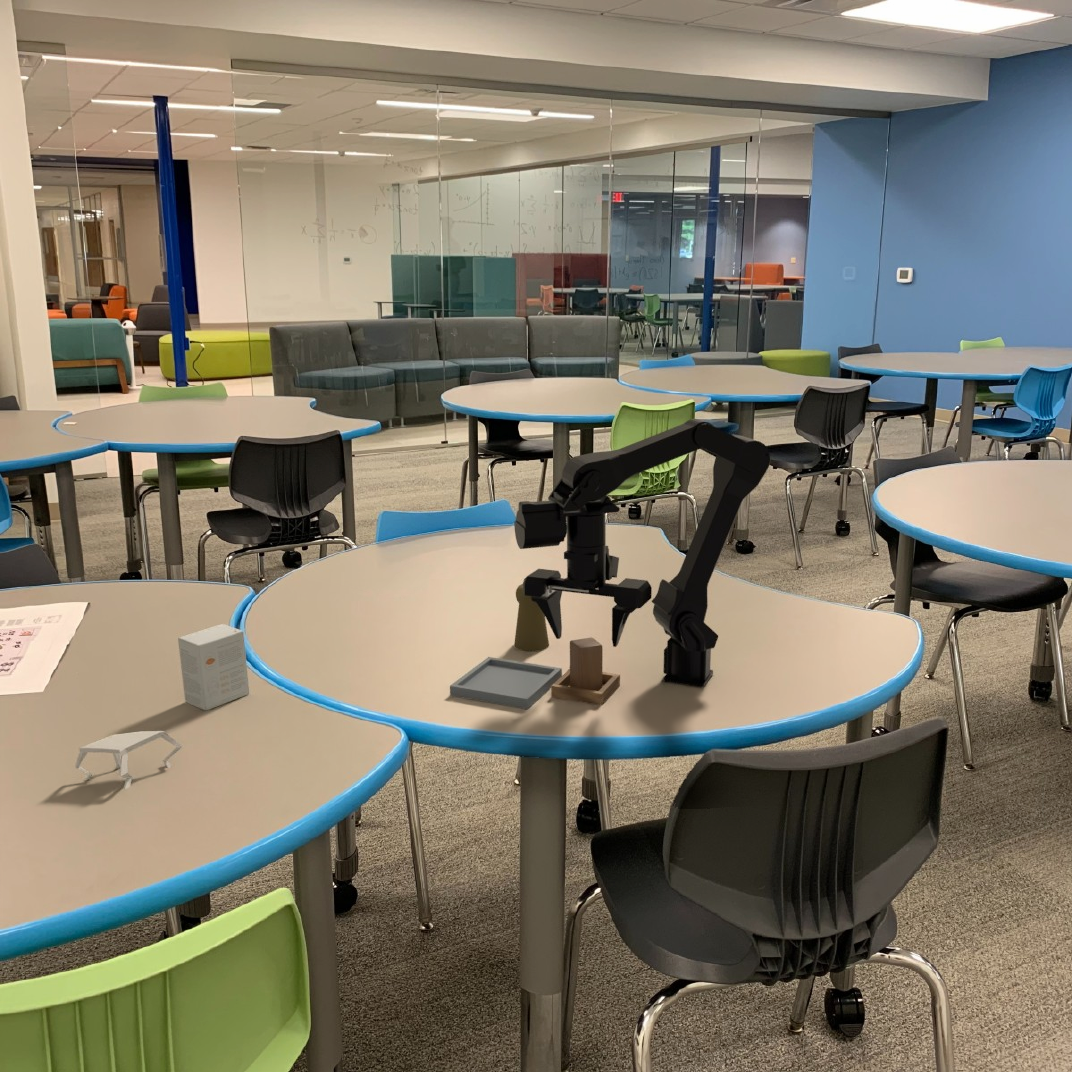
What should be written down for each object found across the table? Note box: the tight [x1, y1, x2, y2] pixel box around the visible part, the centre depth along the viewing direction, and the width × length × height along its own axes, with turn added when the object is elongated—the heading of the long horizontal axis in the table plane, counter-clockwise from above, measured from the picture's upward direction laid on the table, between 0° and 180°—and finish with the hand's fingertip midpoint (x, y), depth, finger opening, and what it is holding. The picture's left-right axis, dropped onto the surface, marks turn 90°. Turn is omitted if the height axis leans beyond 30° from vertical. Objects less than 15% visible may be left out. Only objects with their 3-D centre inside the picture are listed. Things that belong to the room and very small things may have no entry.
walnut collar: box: [550, 668, 621, 706], centre depth 155 cm, size 8×8×2 cm
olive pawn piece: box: [513, 583, 550, 652], centre depth 173 cm, size 6×6×11 cm
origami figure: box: [74, 730, 183, 790], centre depth 131 cm, size 12×8×5 cm
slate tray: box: [449, 656, 563, 710], centre depth 157 cm, size 13×13×2 cm
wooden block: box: [569, 637, 603, 691], centre depth 154 cm, size 4×4×8 cm
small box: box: [177, 623, 250, 711], centre depth 153 cm, size 8×6×10 cm
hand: (586, 642), depth 153 cm, fingers open, 9 cm apart
